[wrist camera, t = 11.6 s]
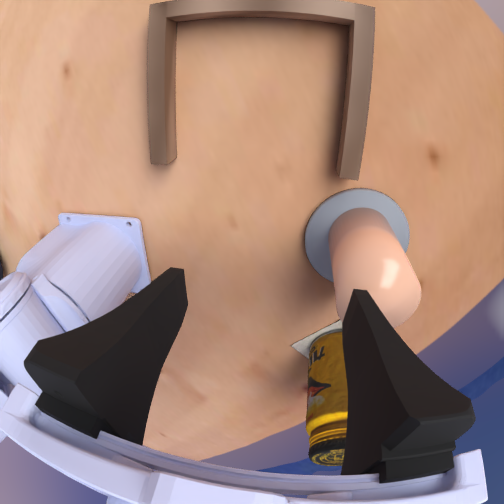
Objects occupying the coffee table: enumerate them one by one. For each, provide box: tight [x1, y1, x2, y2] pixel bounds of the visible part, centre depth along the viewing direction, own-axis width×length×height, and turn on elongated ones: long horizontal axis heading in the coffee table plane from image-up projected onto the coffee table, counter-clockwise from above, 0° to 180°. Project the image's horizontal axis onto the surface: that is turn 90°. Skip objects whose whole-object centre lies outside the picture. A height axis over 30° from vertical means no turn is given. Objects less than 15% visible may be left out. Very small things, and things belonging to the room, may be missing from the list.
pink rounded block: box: [328, 207, 421, 328], centre depth 18 cm, size 7×5×7 cm
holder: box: [147, 0, 375, 181], centre depth 15 cm, size 13×11×2 cm
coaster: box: [305, 188, 409, 282], centre depth 21 cm, size 8×8×1 cm
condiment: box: [292, 320, 348, 466], centre depth 22 cm, size 7×8×12 cm
